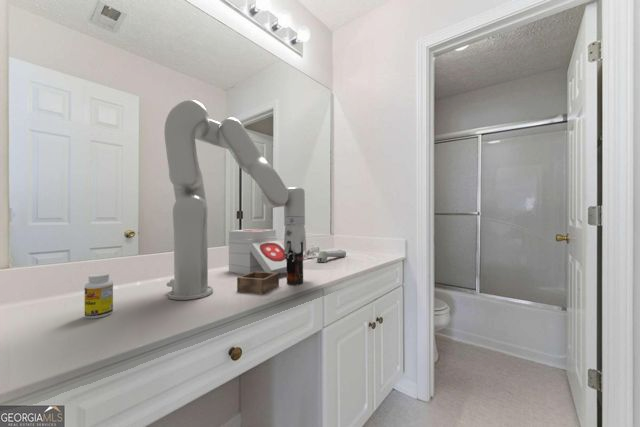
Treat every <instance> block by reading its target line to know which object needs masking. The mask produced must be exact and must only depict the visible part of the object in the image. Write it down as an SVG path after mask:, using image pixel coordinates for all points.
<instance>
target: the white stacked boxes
mask: <svg viewBox="0 0 640 427" xmlns="http://www.w3.org/2000/svg"><path fill="white" fill-rule="evenodd" d="M276 232H277V230H276V229H262V228H261V229H257V228H255V229H251V228H248V229H247V228H246V229H238V230H229V231H228V272H230V273H235V274H239V275H246V274H248V273H251V272H254V271H256V272H270V273H279V274H281V273H285V272H286V273H287V262H286V257H285V255H284V252H285V251H284V245H283V244H282V242H281V241H280V240H277V236H276V235H277V234H276Z"/></svg>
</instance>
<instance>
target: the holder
mask: <svg viewBox="0 0 640 427" xmlns="http://www.w3.org/2000/svg"><path fill="white" fill-rule="evenodd" d="M279 275H280V273H270V272H256V271H254V272H251V273H248V274H246V275H244V274H242V275H241V276H237V277H236V281H237V282H236V283H237V284H236V287H237V288H236V289H237V290H236V292H240V293H249V294H250V293H251V294H259V293H262V295H265V294H267V293H269V292H271V291H273V290H275V288H278V287H280V276H279ZM270 290H271V291H270Z"/></svg>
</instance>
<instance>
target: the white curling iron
mask: <svg viewBox="0 0 640 427" xmlns="http://www.w3.org/2000/svg"><path fill="white" fill-rule="evenodd" d="M346 256H347V252H346V251H345V250H342V249H338V250H328V251H327V250H326V251H325V250H319V251H318V255H316V262H318V263H327V259H328V258H343V257H346Z"/></svg>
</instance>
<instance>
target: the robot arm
mask: <svg viewBox="0 0 640 427" xmlns="http://www.w3.org/2000/svg"><path fill="white" fill-rule="evenodd" d="M163 134H164V143H165V149H166V158H167V166H168V176H169V177H168V178H169V181H170V182H171V184H172V185H173V191H174V198H175V202H174V204H173V206H172V224H173V226H172V227H173V252H174V253H173V257H174V258H173V260H174V261H173V262H174V263H173V268H174V269H173V271H174V272H173V273H174V274H173V276H174V279H173V278H171V279H170V280H169V282H166V287H168V288H169V287H171V291H169V292H168V298H169V299H171V300H175V301H188V300H196V299H200V298H204V297H207V296H210V295H211V294H212V293H213V292H214V288H213V287H212V286H210V285H209V284H208V281H209V280H208V279H209V277H208V275H209V273H208V268H209V267H208V266H209V265H208V262H209V261H208V254H209V253H208V204H207V198H206V192H205V191H206V190H205V187H204V186H205V185H204V178H203V173H202V171H201V168H200V164H199V158H198V154H197V145H196V140H197V141H201V142H203V143H207V144H210V145H214V146H216V147H219V148H223V149H226V150H228V151H229V153H230V154H231V156H232V157H233V159H234V160H235V162H236V163H237V165H238V167H239V168H240V169H241V170H242V171H243V172H244V173H246V174H247V175H249V176H250V177H251V178H252V179H253V180H254V181H255V183H256V184H257V185H258V187H259V188H260V190H261V191H262V193H261V199H260V200H261V202H262V204H263V205H264V206H266V207H267V208H270V209H271V208H272V209H274V208H280V207H281V208H282V207H283V220H284V221H283V224H284V238H283V242H284V243H283V244H284V245H283V246H284V251H285V252H284V255H285V257H286V262H287V271H286V274H287V273H296V262H294V261H295V253H296V254H299V253H300V252H301V242H303V253H304V252H305V251H306V250H307V240H306V239H307V238H306V236H307V234H306V228H305V225H306V214H305V213H306V205H305V204H306V201H305V200H306V198H305V197H306V196H305V194H306V193H305V189H304V188H302V187H298V186H292V187H287V186H286V185H285V183H284V182H283V180H282V178H281V177H280V175H279V174H278V172H277V171H276V169H274V167H273V166H272V164H270V163H269V162H268V161H267V159H266V158H265V157H264V156H263V155H262V153H261V152H260V149H259V148H258V147H257V145H256V143H255V142H254V140H253V138H252V137H251V136H250V133H248V131H247V129H246V127H245V126H244V125H243V123H242V122H241V121H240V120H239V119H237V118H235V117H227V118H224V119H223V120H222V121H221V122H219V121H216V120H213V119H210V115H209V112H208V110H207V109H206V107H205V106H204V105H203V104H202V103H201V102H199V101H197V100H194V99H189V100H184V101H180V102H179V103H177V104H176V105H175V106H174V107H172V108H171V110H170V111H169V113H168V114H167V116H166V120H165V123H164V133H163ZM290 251H293V253H289V252H290ZM291 255H293V256H291Z"/></svg>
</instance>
